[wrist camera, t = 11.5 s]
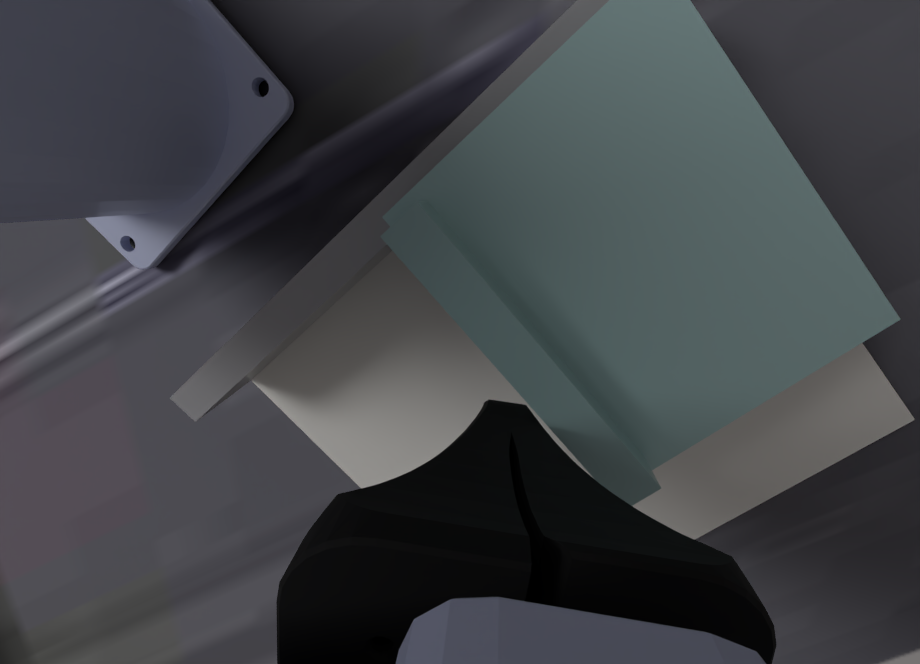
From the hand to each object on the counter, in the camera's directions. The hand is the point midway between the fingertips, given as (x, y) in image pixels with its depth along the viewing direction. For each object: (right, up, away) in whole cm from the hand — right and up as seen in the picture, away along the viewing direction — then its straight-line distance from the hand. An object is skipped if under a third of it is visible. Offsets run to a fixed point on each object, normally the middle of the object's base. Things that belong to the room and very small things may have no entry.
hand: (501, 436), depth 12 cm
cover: (+3, +4, -1) cm, 5 cm away
